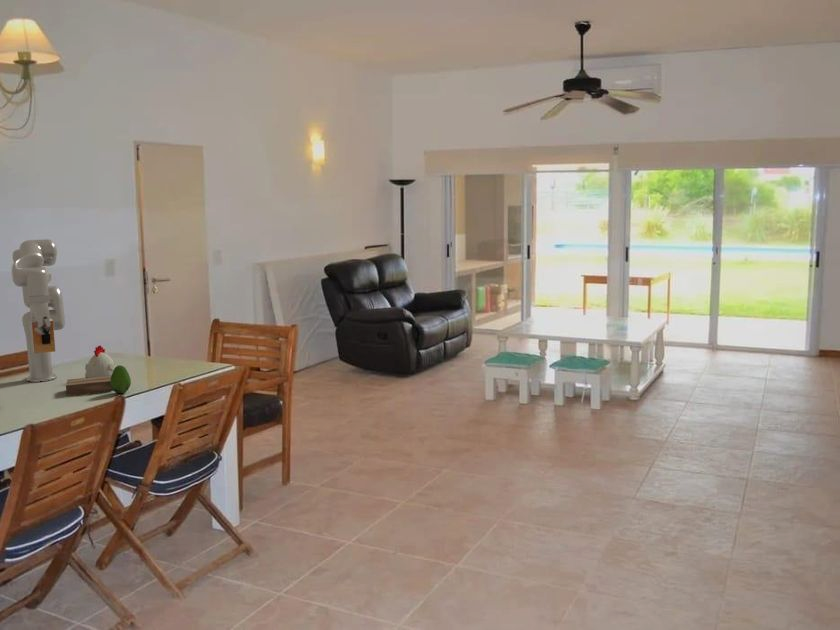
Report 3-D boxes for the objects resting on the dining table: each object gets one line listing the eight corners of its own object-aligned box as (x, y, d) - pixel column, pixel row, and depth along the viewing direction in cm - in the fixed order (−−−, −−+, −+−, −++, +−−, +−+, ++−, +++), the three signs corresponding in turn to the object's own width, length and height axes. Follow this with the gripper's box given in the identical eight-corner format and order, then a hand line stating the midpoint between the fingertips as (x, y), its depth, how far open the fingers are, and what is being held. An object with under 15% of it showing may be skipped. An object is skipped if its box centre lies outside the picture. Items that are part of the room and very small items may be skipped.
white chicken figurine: (79, 381, 358) (76, 348, 356) (95, 374, 372) (92, 343, 370) (108, 381, 357) (106, 348, 355) (123, 374, 370) (121, 343, 368)
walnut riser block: (68, 390, 342) (67, 379, 341) (113, 386, 348) (112, 375, 347) (66, 397, 330) (65, 385, 330) (113, 392, 337) (112, 381, 336)
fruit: (125, 395, 329) (122, 367, 327) (107, 395, 330) (105, 367, 328) (135, 391, 336) (132, 363, 335) (117, 390, 338) (115, 363, 336)
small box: (34, 354, 321) (31, 322, 319) (31, 351, 326) (29, 320, 324) (56, 351, 325) (53, 320, 323) (53, 349, 330) (50, 318, 328)
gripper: (22, 298, 326) (26, 341, 329) (36, 302, 314) (41, 346, 316) (41, 297, 331) (45, 339, 334) (56, 300, 319) (60, 344, 321)
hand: (43, 342), depth 325 cm, fingers closed on small box, 6 cm apart
